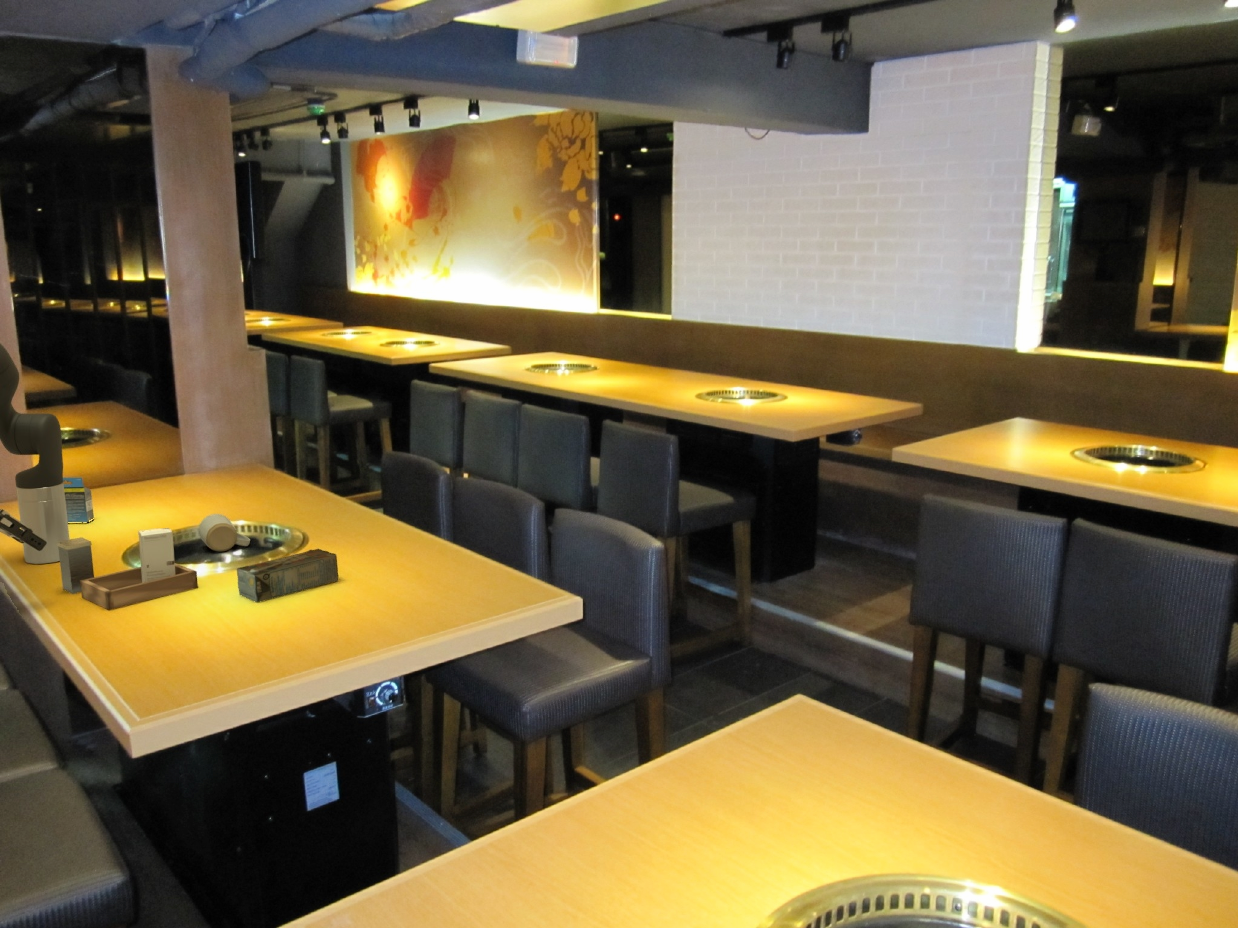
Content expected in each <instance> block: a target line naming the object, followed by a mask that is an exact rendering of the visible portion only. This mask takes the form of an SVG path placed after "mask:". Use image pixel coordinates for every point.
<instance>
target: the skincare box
mask: <svg viewBox="0 0 1238 928" xmlns="http://www.w3.org/2000/svg"><path fill="white" fill-rule="evenodd" d="M138 544H139V547H138V548H139V557H140V558H139V559H140V567H141V573H142V583H144V582H148V581H152V580H156V579H160V578H165V577H169V576H173V575H175V550H174V532H173V531H172V529H171V528H169V527H164V528H151V529H147V530H146V529H144V530H139V531H138Z"/></svg>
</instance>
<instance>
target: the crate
mask: <svg viewBox="0 0 1238 928" xmlns="http://www.w3.org/2000/svg"><path fill="white" fill-rule="evenodd" d="M197 572H198V571H197V570H194V569H191V568H188V567H187V566H183V565H180V564H179V563H175V575H173V576H169V577H165V578H160V579H156V580H152V581H148V582H144V583H142V573H141V566H138V567H135V568H134V567H133V568H129V569H126V570H122V571H121V570H120V571H117V572H112V573H108V574H107V573H106V574H103V575H98V576H94V578H89V579H85V580H81V581H80V585H81V592H80V593H81V598H83V599H84V600H87V601H89V602H90V603H93V604H95V605H97V606H100V607H102V608H104V609H106V610H108V611H111V610H116V609H119V608H123V607H126V606H131V605H135V604H139V603H143V602H147V601H151V600H154V598H155V599H159V598H164V597H166V596H165V595H167V596H171V595H174V594H179V593H182V592H183V593H184V592H186V591H190V590H194V589H198V587H199V584H198V574H197ZM142 601H143V602H142Z"/></svg>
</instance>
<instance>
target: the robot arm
mask: <svg viewBox="0 0 1238 928" xmlns="http://www.w3.org/2000/svg"><path fill="white" fill-rule="evenodd" d="M19 382H20V372H19V369H18V367H17V365H16V364H15V362H14V360H13V358H12V356H11V355H10V353H9V352H8V350H7V349H6V348H5V346H4V345H3V344H2V343H1V342H0V442H1V444H2V446H3V447H4V448H5V450H6V451H7V452H9V453H10V454H13V455H17V456H38V463H37V464H35V465H34V466H33V467H30V468H27V469H24V470H21V471H20V472H18V473H16V474H15V476H14V480H15V487H16V488H15V489H16V496H17V505H18V512H19V513H18V514H19V519H18V518H16V517H14V516H12V515H11V514H10V513H9V512H8V511H6V510H5V509H2V508H0V533H1V534H3V535H5V536H6V537H8V538H12V540H15V542H16V541H17V542H18V543H19V544H22V547H23V548H22V549H23V557H24V562H25V563H27V564H34V565H35V564H36V565H38V564H50V563H57V562H60V558H59V549H58V546H57V542H60V541H65V540H70V529H69V524H68V520H67V511H66V501H65V493H64V484H65V483H64V482H63V478H64V460H63V459H64V458H63V444H62V443H63V440H62V438H63V437H62V429H61V424H60V421H59V419H58V417H57V416H56V415H55V414H53V413H46V412H44V413H42V412H38V413H37V412H36V413H35V412H34V413H31V412H30V413H29V412H28V413H25V412H24V413H21V412H17V410H16V409H15V408H14V406H13V404H12V402H13V398H14V396H15V394H16V392H17V390H18V386H19Z"/></svg>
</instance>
